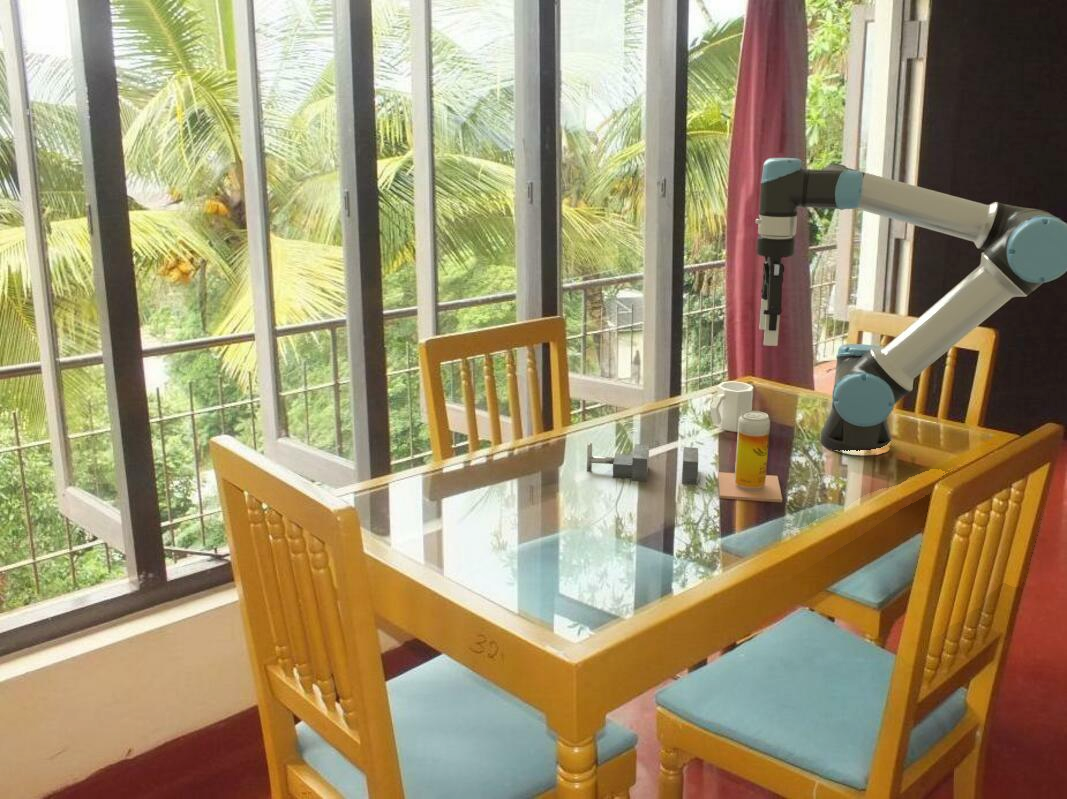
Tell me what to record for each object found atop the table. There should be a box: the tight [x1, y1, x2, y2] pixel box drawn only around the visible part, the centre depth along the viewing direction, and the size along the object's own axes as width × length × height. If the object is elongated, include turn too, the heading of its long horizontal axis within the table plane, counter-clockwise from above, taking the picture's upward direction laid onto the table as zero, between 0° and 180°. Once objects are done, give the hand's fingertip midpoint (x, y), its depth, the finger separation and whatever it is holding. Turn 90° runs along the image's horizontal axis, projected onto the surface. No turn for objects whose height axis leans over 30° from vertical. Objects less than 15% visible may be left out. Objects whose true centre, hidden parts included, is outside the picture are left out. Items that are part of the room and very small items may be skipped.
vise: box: [586, 442, 699, 486], centre depth 197 cm, size 23×8×6 cm, turn 81°
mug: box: [709, 380, 754, 433], centre depth 223 cm, size 12×9×10 cm
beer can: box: [734, 410, 771, 490], centre depth 188 cm, size 6×6×15 cm
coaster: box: [717, 471, 783, 503], centre depth 190 cm, size 12×12×1 cm
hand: (767, 337), depth 199 cm, fingers open, 13 cm apart
